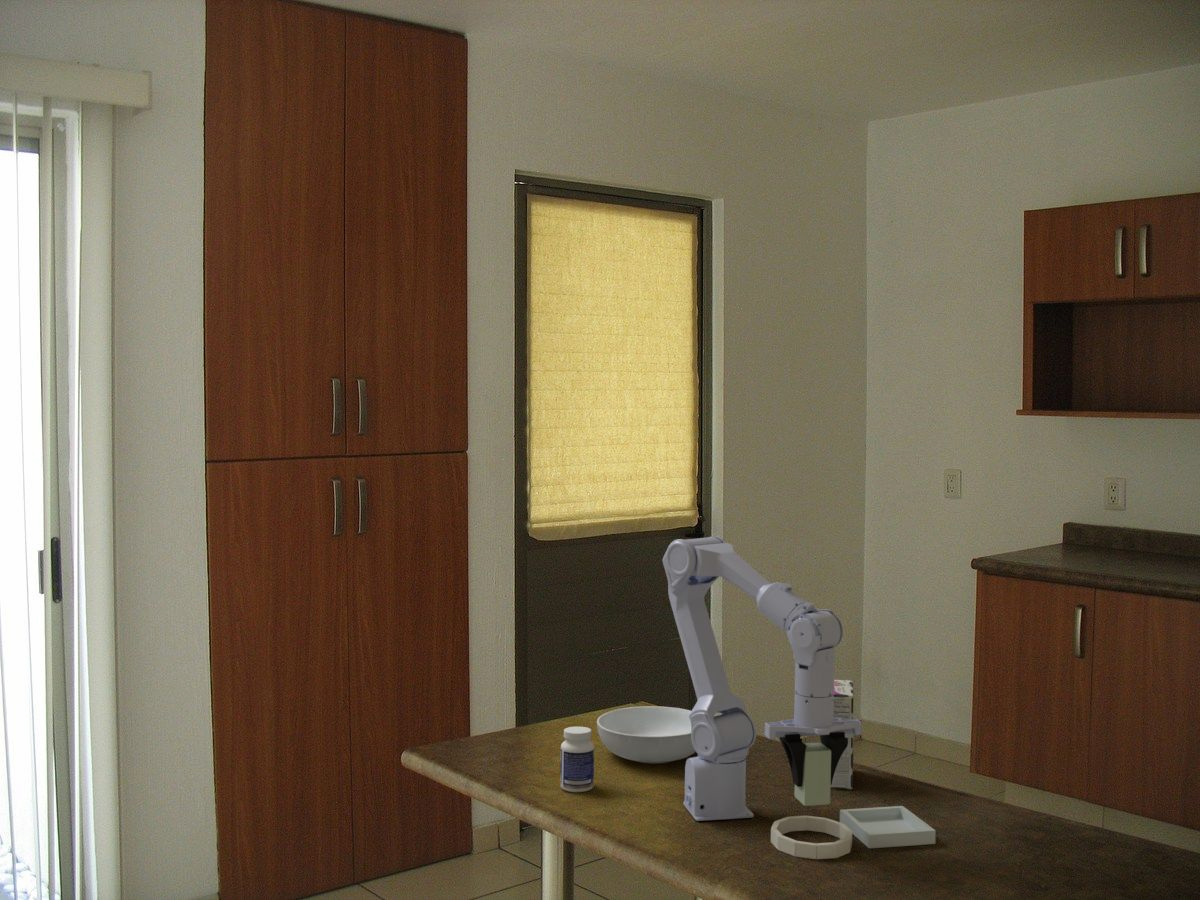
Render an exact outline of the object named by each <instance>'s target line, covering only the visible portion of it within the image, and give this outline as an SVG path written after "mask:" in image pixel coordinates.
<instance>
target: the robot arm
mask: <svg viewBox="0 0 1200 900" xmlns="http://www.w3.org/2000/svg"><path fill="white" fill-rule="evenodd" d="M662 565H663V569H664V571H665V575H666V578H667V584H668V585H667V588H668V589H667V591H668V592H667V593H668V599H669V602H670V607H671V610H672V612H673V613H672V614H673V617H674V620H675V625H676V626H677V632H678V634H679V638H680V641H681V645H682V650H683V653H684V657H685V660H686V663H687V666H688V670H689V674H690V678H691V680H692V681H691V682H692V686H693V688H694V691H695V697H696V700H697V701H696V703H695V704H694V706H693V708H692V709H691V710H690V711H691V713H690V715H689V718H690V722H691V741H692V745H693V747H694V749H695V751H696V752H695V753H696V754H697V756H693V757H689V758H687V759H686V761H685V767H684V801H683V802H682V804H683V806H684V807H685V808H686V810H687V811H688V812H689V813H690V815H691V816H692V817H693V819H694V820H695V821H697V822H703V821H717V820H719V821H721V820H735V819H736V820H737V819H738V820H739V819H749V818H750V819H751V818H754V817H755V815H754V814H755V813H753V812H752V811H751V810H750V809H749V808H748V806H746V782H747V781H746V780H747V779H746V777H747V775H746V774H747V771H746V770H747V759H746V758H747V756H748V755H749V750H750V747H752V746H753V745H754V744H755V742H756V738H757V727H756V724H755V722H754V719H753V718H752V716H751V715H750V714H749V712H748V710H747V707H746V705H745V701H744V700H743V699H742V698H740V697H739V696H737V695H736V694H735V693H733V692H732V691H731V689H730V685H729V682H728V678H727V675H726V671H725V668H724V664H723V661H722V658H721V654H720V651H719V648H718V643H717V640H716V636H715V633H714V630H713V626H712V622H711V619H710V616H709V612H708V609H707V605H706V602H705V596H706V595H707V592H708V591H709V589H710V588H711V587H712V585H713V584H715V582H717V580H718V579H719V578H720V577H721V578H722V579H724V580H725V581H727V582H728V583H730V584H731V585H733V586H734V587H735V588H737V589H739V590H740V591H741V592H743V593H745V594H746V595H748V596H749V597H750V598H752V599H753V600H755V601H756V607H757V611H758V612H759V613H760V614H761V615H762V616H763V617H765V618H766V619H767V620H768V621H770V622H771V623H772V624H773V625H775V626H776V627H777V628H779V630H781V631H782V632H783V633H785V634H786V636H787V640H788V643H789V645H790V646H791V648H792V652H793V653H792V655H793V656H792V658H793V660H794V698H793V699H794V700H793V701H794V705H793V706H794V708H793V709H794V710H793V717H794V718H790V719H784V720H778V721H772V722H771V721H769V722H764V736H765V737H766V739H769V740H776V738H779V741H780V743H781V745H782V747H783V750H784V752H785V754H786V756H787V757H786V758H787V760H788V763H789V768H790V771H791V777H792V778H791V779H792V783H793V784H794V786H795V785H796V786H797V787H802V784H803V762H804V755H805V750H806V745H805V744H804V743H805V742H803V738H801V737H813V736H819V738H820V743H822V744H823V745H825V746H826V747H827V748H829V749H830V750H831V785H832V781H833V776H834V773H835V770H836V767H837V764H838V762H839V759H840V757H841V755H842V754H843V752H844V750H845V749H846V747H847V746H848V739H847V738H846V737H845V734H854V735H853V736H859V735H860V736H861V735H862V729H863V727H862V726H863V722H862V721H860V720H859V719H858V718H854V719H841V718H833V707H834V680H835V660H836V659H835V657H836V656H835V654H836V653H835V652H836V651H835V650H836V647H837V646H839V644H840V643H841V642H842V639H843V636H844V628H843V624H842V622H841V619H840V618H839V617H838V615H836V614H835V613H834V611H833V610H831V609H829V608H824V609H819V608H817V607H816V604H814V603H813V602H811V601H807V600H806V599H804V598H803V597H802V596H800V595H799V594H798V593H796V592H795V591H794V590H792V589H793V588H794V587H793V586H792V585H791V584H790V583H789V582H783V583H782V582H779V581H777V582H772V583H771V582H770V581H768V580H767V579H766V578H765V577H764V576H763V575H762V574H760V573H759V572H758V571H757V570H756V569H755V568H754V567H752V566H751V565H750V563H748V562H747V561H745V560H744V559H743V558H742V557H741V556H740V555H739V554H737V553H736V552H735V548H734V545H732V543H729V542H727V541H725V539H723V538H722V537H720V536H718V535H711V536H708V537H700V538H699V537H698V538H687V539H682V538H680V539H679V538H678V539H674V540H673V541H671V543H670V544H669V545H668V547H667V549H666V551H665V553H664V555H663V558H662ZM719 713H720V714H719ZM716 714H719V715H716Z"/></svg>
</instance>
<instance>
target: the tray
mask: <svg viewBox="0 0 1200 900" xmlns="http://www.w3.org/2000/svg"><path fill="white" fill-rule="evenodd" d="M839 822H840V823H843V824H844V825H846V826H847V827H848V828H849V829H850V830H851V831H852V836H853V835H854V837H856V838H857V839H858V840H859V841H860V842H861V843H863V845H864V846H866V847H867V848H868V849H880V848H882V849H883V848H893V847H894V848H895V847H896V848H898V847H907V846H908V847H909V846H922V845H936V836H937V835H936V834H937V833H936V829H934V828H933V827H931V825H929V824H928V823H926V822H925V821H924V820H922V819H921V818H919V817H918V816H917V815H916V814H914V813H913V812H912V811H910V810H909V809H907V808H906V807H905V806H903V805H895V806H879V807H865V808H861V807H860V808H847V809H844V808H843V809H840V810H839Z"/></svg>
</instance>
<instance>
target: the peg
mask: <svg viewBox="0 0 1200 900" xmlns="http://www.w3.org/2000/svg"><path fill="white" fill-rule="evenodd" d="M803 743H804V744H805V745H806V750H805V755H804V762H803V784H802V787H797V786H796V785H795V784H794V795H793V796H794V798H795V799H797V801H799V802H800V803H801V804H802V805H803V806H804V807H805V806H806V807H807V806H823V805H824V806H825V805H827V806H828V805H831V788H830V787H831V750H830V749H829V748H827V747H826V746H825V745H823V744H822V743H821V742H806V743H805V742H803Z"/></svg>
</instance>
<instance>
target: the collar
mask: <svg viewBox="0 0 1200 900" xmlns="http://www.w3.org/2000/svg"><path fill="white" fill-rule="evenodd" d="M801 831H802V832H803V831H811V832H817V833H825V834H828V835H830V836H834V837H836V838H838V839H837V840H836V841H832V842H820V843H819V842H807V841H803V840H802V841H800V840H796V839H793V838H791V837H788V836H787V835H786V836H785V834H787V833H790V832H801ZM770 843H771V844H772V845H773V846H774V847H775V848H776V849H777V850H778V851H780V852H783V853H785V854H788V855H790V856H793V857H796V858H804V859H811V860H827V859H838V858H840V857H842V856H843V857H844V856H845V855H846V854H847V855H848V854H850V853H851V851H852V850H851V849H852V846H853V834H852V831H851V830H850V829H849V828H848V827H847V826H846V825H844V824H843V823H840V821H836V820H834V819H831V818H827V817H823V816H821V817H820V816H812V815H793V816H786V817H782V818H781V819H780V818H779V819H777V820H775V821H774V822H773V823H772V825H771V828H770Z"/></svg>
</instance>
